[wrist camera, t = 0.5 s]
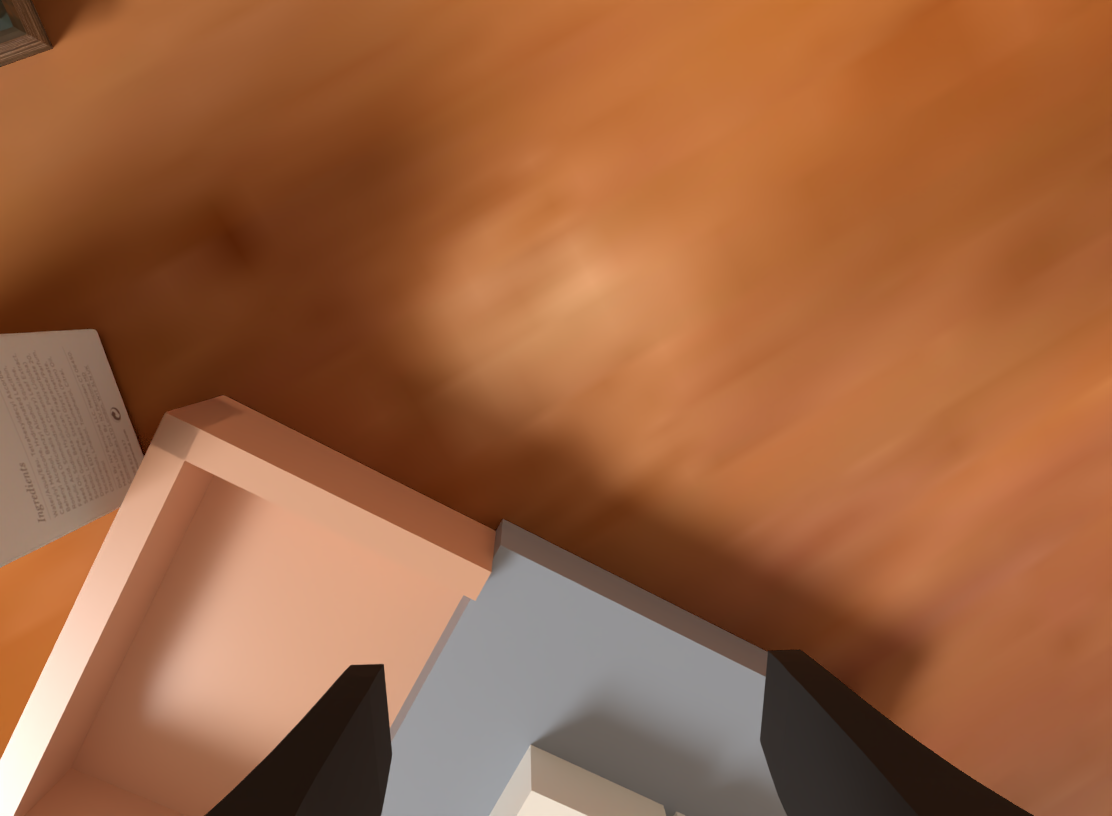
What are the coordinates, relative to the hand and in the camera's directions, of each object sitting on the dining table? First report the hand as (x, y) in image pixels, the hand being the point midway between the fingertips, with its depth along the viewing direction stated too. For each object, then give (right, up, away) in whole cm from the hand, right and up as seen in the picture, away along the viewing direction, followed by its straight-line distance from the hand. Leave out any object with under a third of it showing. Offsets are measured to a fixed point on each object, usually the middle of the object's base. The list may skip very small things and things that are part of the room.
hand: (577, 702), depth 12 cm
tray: (-10, -3, +10) cm, 15 cm away
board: (0, -9, +12) cm, 15 cm away
